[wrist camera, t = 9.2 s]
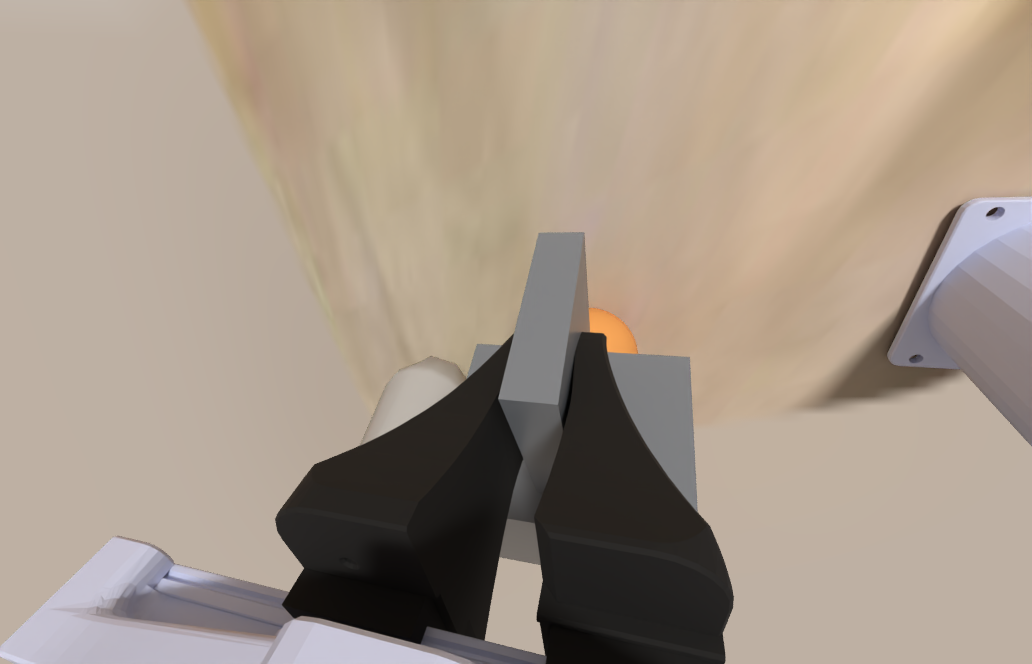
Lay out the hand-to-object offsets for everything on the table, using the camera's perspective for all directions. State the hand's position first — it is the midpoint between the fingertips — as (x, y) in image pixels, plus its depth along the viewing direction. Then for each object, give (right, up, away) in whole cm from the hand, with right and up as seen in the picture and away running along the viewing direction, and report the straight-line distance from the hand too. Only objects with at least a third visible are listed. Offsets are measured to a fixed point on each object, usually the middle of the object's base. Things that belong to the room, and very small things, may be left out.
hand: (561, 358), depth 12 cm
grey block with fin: (+1, -1, +5) cm, 5 cm away
